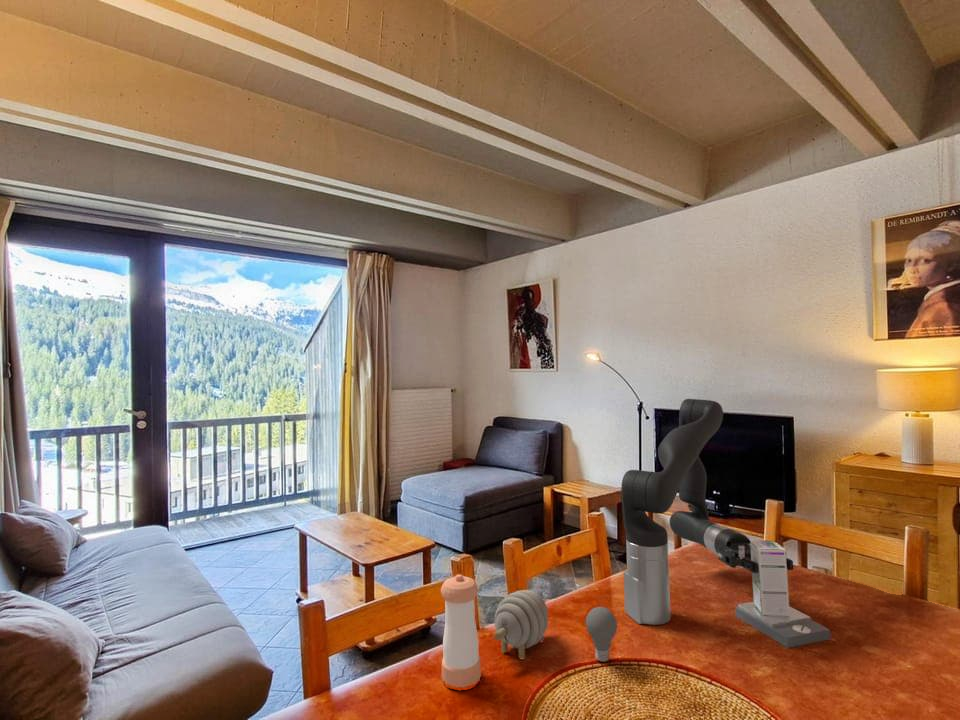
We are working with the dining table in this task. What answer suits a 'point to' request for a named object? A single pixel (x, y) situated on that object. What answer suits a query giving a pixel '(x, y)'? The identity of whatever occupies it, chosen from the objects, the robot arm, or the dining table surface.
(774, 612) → the syrup box
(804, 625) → the scale base
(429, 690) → the dining table surface
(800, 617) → the scale pan
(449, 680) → the salt shaker
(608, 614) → the light bulb
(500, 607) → the toy sheep
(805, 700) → the dining table surface
